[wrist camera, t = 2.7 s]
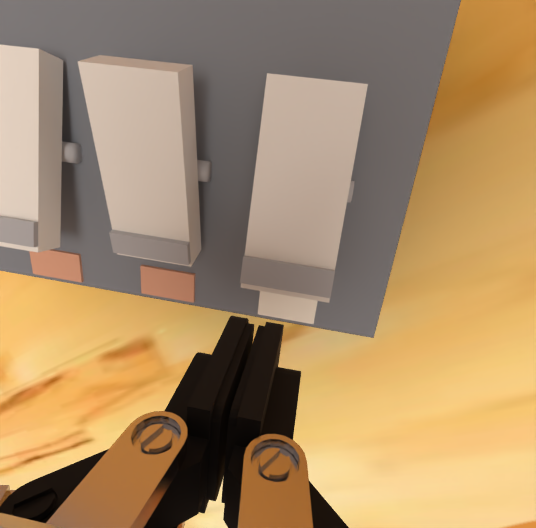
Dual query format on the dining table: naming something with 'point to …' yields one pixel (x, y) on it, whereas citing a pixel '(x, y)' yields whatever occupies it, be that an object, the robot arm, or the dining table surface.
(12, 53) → the rocker
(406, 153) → the switch unit
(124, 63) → the rocker
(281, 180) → the rocker
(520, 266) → the dining table surface
